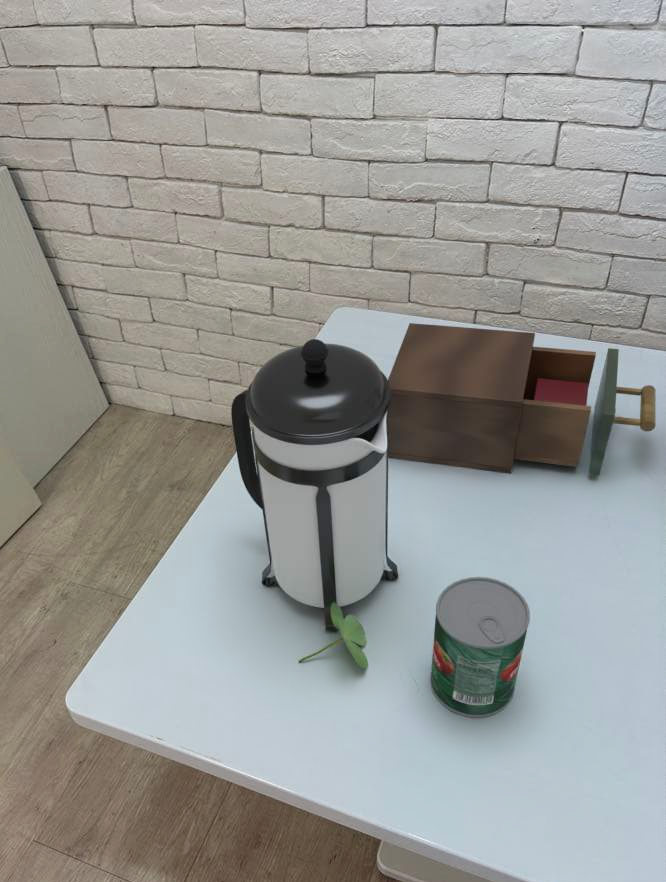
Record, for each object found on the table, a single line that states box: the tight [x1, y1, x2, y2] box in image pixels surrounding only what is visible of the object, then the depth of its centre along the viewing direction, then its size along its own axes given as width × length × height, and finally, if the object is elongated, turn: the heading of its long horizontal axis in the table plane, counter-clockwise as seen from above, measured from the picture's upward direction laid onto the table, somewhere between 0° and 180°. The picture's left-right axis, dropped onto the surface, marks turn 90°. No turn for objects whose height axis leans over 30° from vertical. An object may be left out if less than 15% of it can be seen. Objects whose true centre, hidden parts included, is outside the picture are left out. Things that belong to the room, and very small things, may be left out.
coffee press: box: [230, 338, 399, 631], centre depth 78 cm, size 17×16×30 cm
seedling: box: [298, 602, 369, 669], centre depth 80 cm, size 7×8×6 cm
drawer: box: [514, 346, 657, 476], centre depth 96 cm, size 19×13×9 cm
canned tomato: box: [429, 576, 531, 718], centre depth 73 cm, size 8×8×11 cm
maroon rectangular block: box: [534, 378, 590, 406], centre depth 98 cm, size 9×6×4 cm, turn 161°
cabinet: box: [387, 322, 536, 474], centre depth 100 cm, size 16×15×11 cm
